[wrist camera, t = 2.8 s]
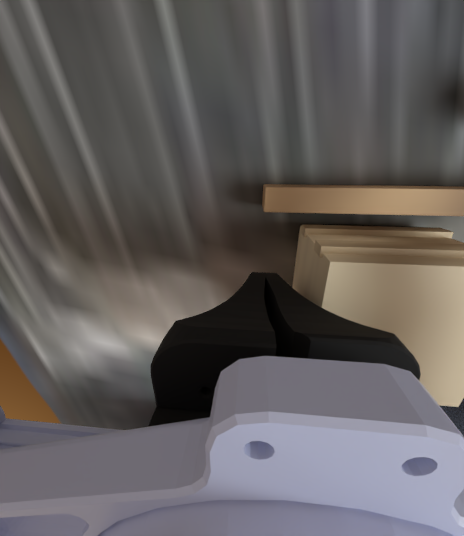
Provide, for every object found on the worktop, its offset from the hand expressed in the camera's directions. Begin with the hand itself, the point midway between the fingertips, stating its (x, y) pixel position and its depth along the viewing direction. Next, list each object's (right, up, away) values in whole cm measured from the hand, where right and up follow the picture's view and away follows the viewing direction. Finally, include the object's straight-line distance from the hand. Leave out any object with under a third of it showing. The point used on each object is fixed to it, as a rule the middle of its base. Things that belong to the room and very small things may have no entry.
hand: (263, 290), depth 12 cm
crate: (+5, 0, +1) cm, 5 cm away
